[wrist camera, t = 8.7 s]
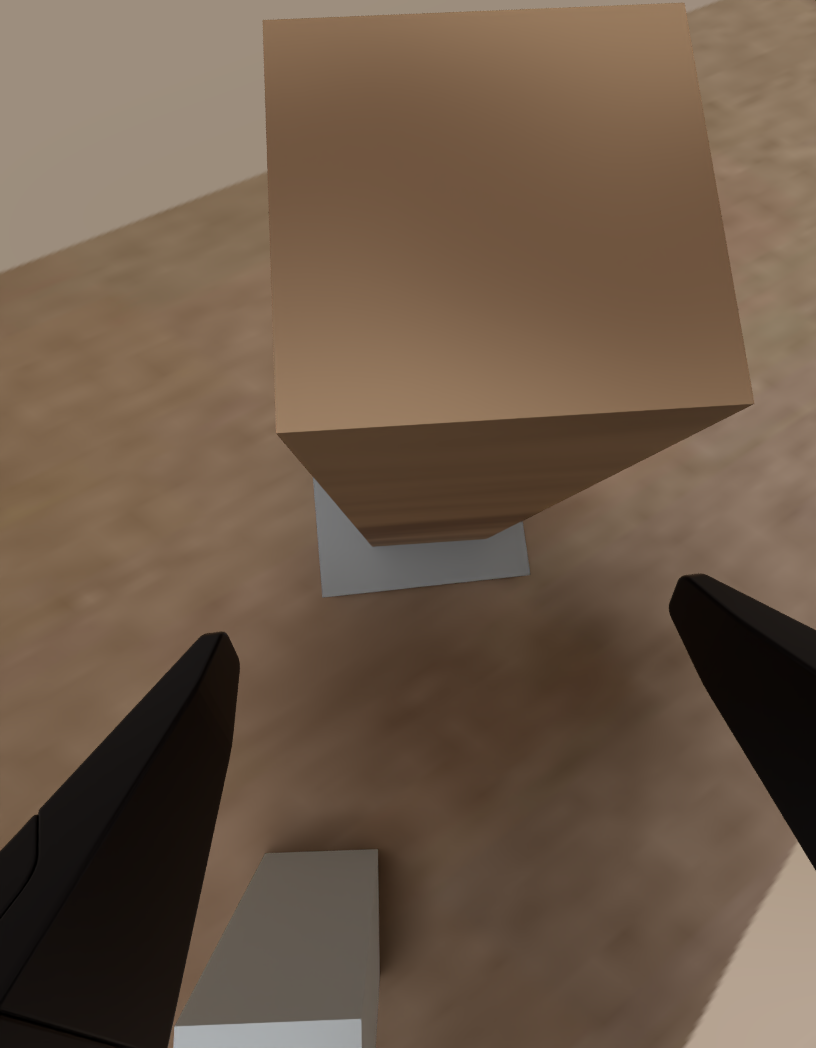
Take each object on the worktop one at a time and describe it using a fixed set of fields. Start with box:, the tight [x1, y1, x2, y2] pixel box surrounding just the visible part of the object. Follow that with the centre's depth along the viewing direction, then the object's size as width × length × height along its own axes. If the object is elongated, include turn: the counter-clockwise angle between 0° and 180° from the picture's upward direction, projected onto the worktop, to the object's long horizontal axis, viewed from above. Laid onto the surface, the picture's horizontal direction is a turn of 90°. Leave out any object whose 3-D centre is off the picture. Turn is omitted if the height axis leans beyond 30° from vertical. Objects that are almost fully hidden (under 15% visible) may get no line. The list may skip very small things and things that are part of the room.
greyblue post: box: [174, 849, 380, 1048], centre depth 16 cm, size 5×5×8 cm
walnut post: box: [263, 3, 754, 547], centre depth 12 cm, size 5×5×15 cm
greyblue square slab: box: [313, 477, 530, 597], centre depth 21 cm, size 9×9×3 cm
